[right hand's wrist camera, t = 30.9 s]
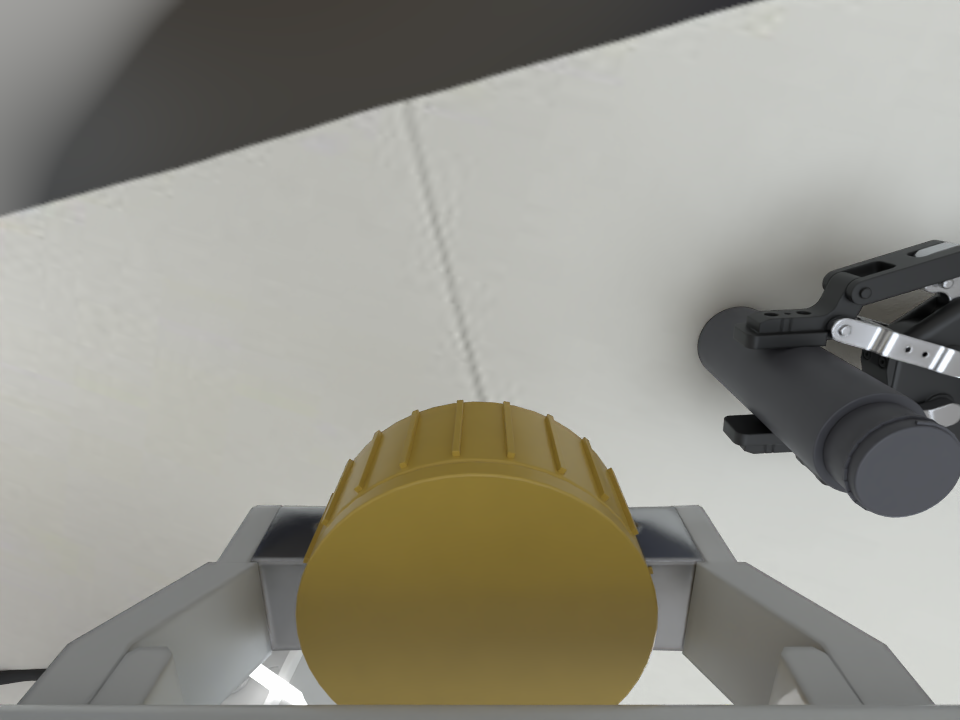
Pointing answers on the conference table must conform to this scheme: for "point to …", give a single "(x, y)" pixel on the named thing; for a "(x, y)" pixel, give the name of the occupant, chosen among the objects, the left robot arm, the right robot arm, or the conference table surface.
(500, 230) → the conference table surface
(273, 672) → the right robot arm
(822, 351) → the jar
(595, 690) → the lid
